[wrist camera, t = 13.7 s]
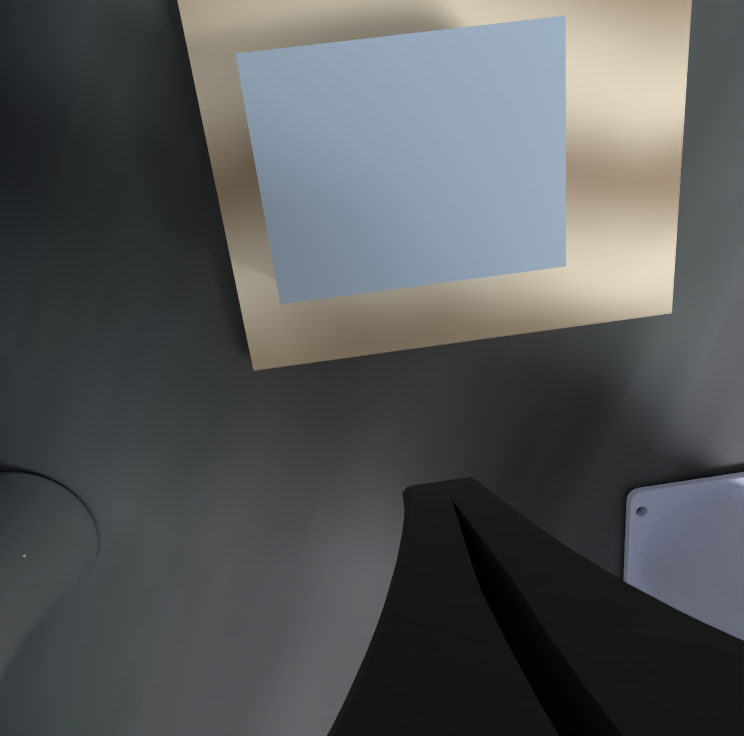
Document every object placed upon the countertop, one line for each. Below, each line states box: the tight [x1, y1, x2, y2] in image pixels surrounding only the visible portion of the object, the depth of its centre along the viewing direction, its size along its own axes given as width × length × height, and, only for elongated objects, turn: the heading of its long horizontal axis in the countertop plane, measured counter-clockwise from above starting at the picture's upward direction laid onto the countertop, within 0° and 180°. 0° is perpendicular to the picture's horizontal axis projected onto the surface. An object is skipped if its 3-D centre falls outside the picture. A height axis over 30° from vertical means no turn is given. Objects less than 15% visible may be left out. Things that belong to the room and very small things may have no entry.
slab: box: [235, 16, 566, 304], centre depth 14 cm, size 6×4×8 cm
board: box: [177, 0, 692, 371], centre depth 16 cm, size 12×16×1 cm
